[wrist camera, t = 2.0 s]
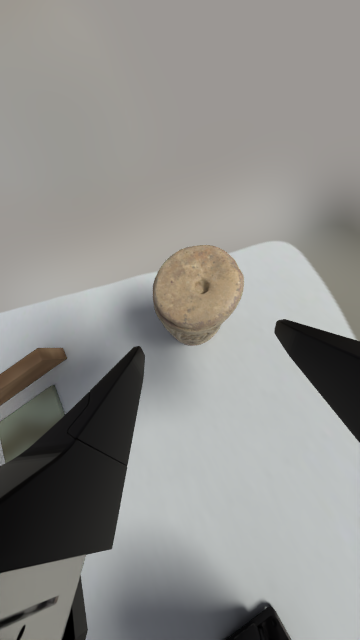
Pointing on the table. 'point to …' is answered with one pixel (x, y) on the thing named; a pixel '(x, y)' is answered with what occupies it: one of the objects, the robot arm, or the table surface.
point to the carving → (197, 292)
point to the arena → (37, 412)
